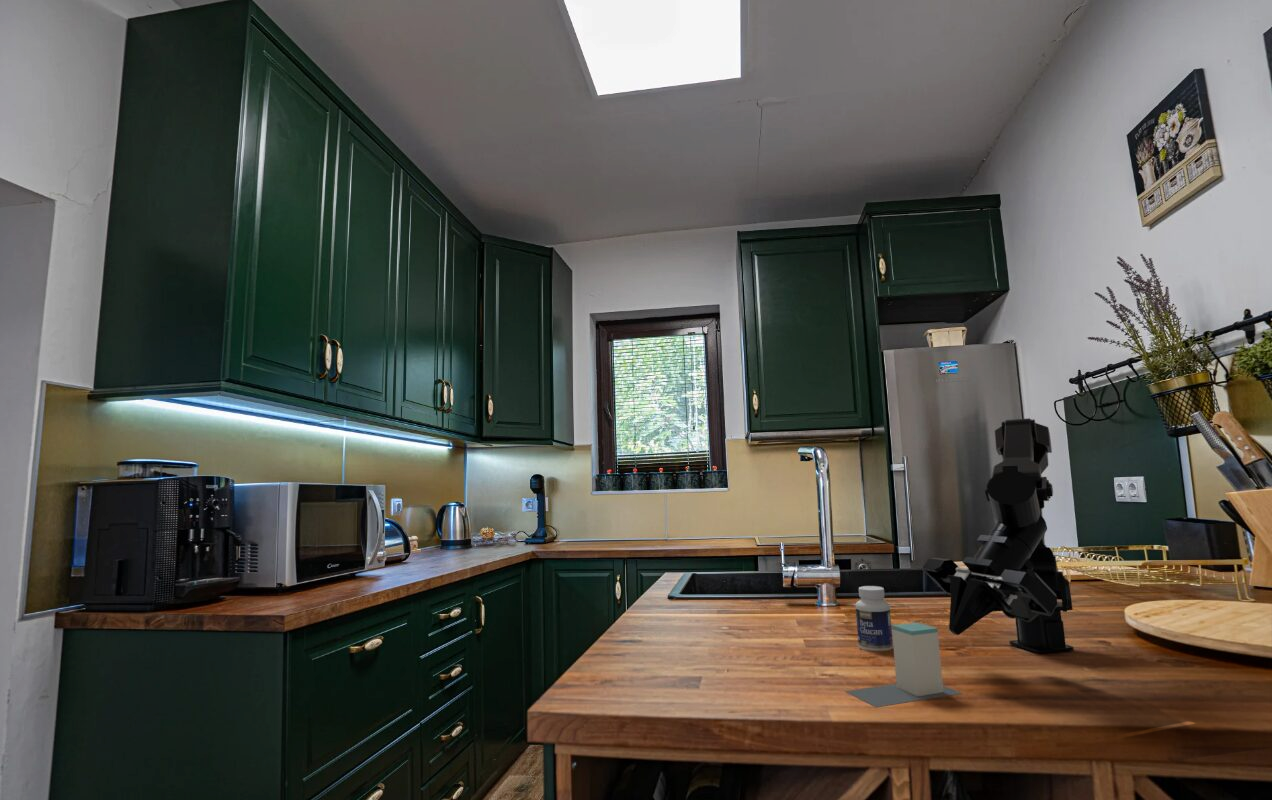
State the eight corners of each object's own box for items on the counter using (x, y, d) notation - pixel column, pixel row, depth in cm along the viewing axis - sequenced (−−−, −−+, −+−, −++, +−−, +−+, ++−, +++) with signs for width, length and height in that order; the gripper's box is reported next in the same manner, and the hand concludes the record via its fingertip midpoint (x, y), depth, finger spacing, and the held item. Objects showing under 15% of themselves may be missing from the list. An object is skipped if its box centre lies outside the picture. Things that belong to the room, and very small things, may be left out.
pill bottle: (857, 651, 107) (852, 590, 109) (859, 643, 112) (855, 584, 114) (893, 653, 105) (887, 591, 107) (893, 645, 110) (888, 585, 112)
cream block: (922, 683, 89) (916, 622, 90) (943, 692, 86) (937, 628, 87) (896, 687, 88) (891, 625, 89) (917, 696, 85) (911, 631, 85)
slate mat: (927, 681, 91) (926, 679, 91) (962, 695, 85) (962, 693, 85) (844, 693, 88) (844, 691, 88) (875, 709, 81) (875, 706, 81)
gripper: (1108, 591, 86) (1051, 691, 81) (994, 573, 104) (942, 655, 99) (1054, 533, 85) (993, 632, 80) (948, 525, 102) (893, 605, 98)
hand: (953, 632), depth 89 cm, fingers closed
